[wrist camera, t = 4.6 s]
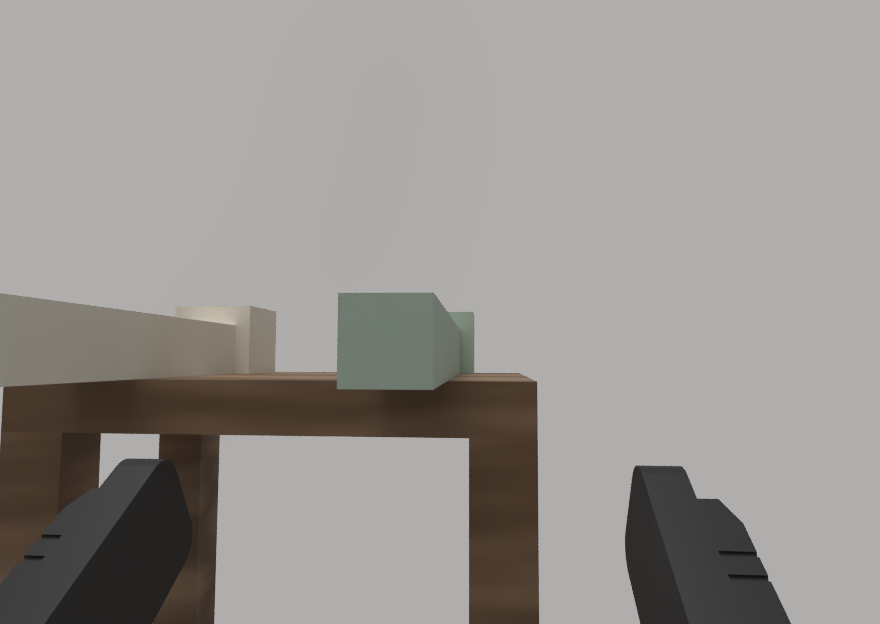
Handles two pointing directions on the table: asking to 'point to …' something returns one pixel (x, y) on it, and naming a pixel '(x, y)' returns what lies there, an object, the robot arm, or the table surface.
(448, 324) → the sage stick
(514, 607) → the walnut stand
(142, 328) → the cream stick
